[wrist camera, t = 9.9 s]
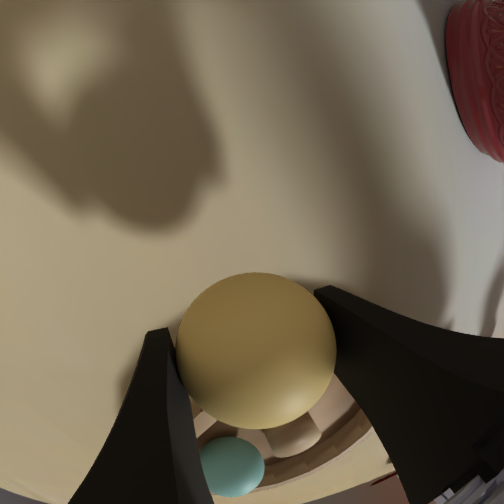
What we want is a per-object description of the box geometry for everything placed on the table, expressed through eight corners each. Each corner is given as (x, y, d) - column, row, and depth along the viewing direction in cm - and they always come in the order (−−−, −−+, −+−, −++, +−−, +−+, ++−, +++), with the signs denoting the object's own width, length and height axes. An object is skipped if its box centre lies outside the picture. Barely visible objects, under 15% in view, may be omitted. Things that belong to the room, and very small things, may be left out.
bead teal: (251, 417, 17) (274, 474, 13) (253, 446, 19) (273, 494, 15) (182, 432, 16) (196, 492, 12) (196, 459, 18) (209, 509, 14)
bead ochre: (293, 234, 10) (385, 310, 6) (294, 337, 12) (353, 421, 8) (153, 264, 9) (164, 378, 5) (184, 367, 11) (211, 471, 7)
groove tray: (407, 282, 18) (435, 304, 15) (361, 425, 26) (374, 443, 23) (111, 367, 13) (111, 410, 10) (192, 484, 21) (199, 507, 19)
